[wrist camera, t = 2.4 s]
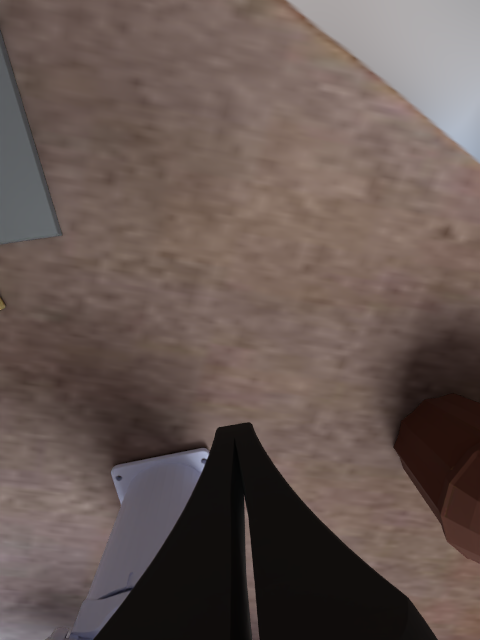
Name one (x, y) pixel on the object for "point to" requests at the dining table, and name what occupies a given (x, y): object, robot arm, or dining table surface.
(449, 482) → the muffin
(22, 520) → the dining table surface
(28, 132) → the mat
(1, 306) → the candy box
